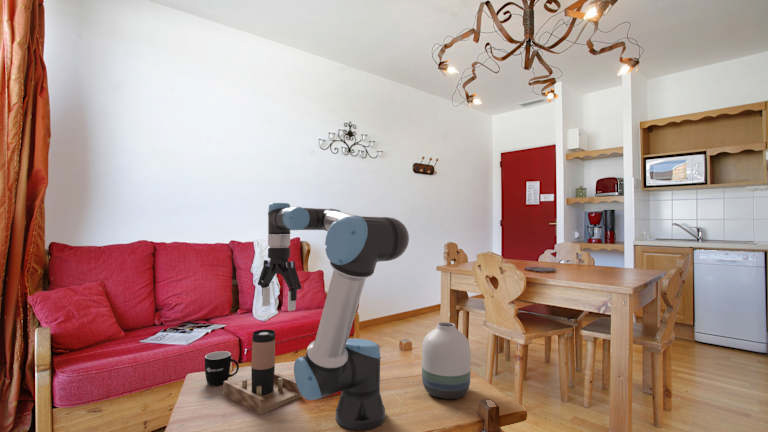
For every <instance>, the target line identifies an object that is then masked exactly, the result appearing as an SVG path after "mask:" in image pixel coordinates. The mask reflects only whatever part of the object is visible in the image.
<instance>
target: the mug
mask: <svg viewBox="0 0 768 432" xmlns="http://www.w3.org/2000/svg"><path fill="white" fill-rule="evenodd" d="M231 363H234V364H235V365H236V370H235V372H233V373H230V372H231ZM239 366H240V365H239V363H238V361H237V360H236V359H234V358H232V353H231V352H229V351H226V350H224V351H223V350H222V351H221V350H220V351H213V352H209V353H207V354H205V356H204V373H205V380H206V383H207V384H208V386H210V387H218V386H223V383H224V381H226V380H227V381H229V380H228V379H229V378H232V377H234V376H236V375H237V373H238V372H239V369H240V367H239Z"/></svg>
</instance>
